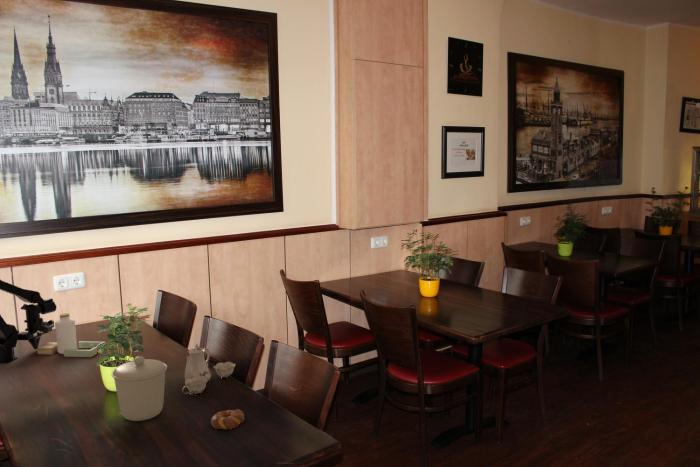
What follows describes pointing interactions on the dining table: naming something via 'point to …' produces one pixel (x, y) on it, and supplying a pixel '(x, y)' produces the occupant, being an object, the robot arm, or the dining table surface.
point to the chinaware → (202, 370)
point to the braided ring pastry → (227, 419)
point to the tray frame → (83, 352)
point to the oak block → (48, 348)
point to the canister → (140, 388)
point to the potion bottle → (65, 333)
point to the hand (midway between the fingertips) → (35, 349)
